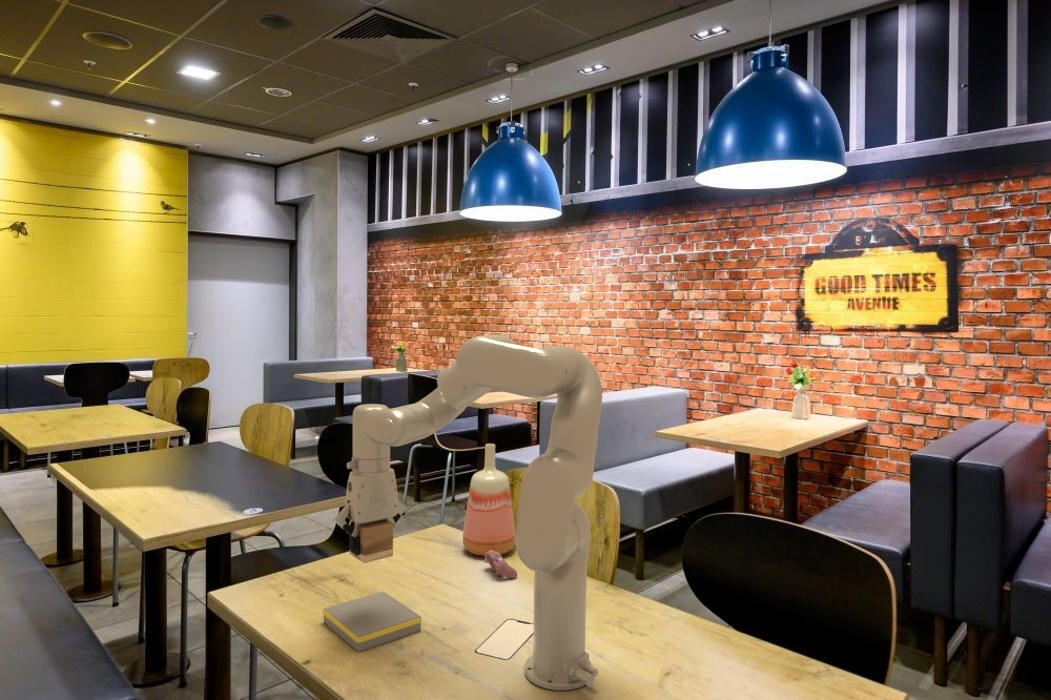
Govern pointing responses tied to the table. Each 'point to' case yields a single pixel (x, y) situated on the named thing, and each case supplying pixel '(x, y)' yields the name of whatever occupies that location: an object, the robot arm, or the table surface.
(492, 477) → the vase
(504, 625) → the smartphone
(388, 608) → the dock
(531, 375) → the robot arm
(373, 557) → the brown wooden block
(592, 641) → the table surface
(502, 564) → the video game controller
